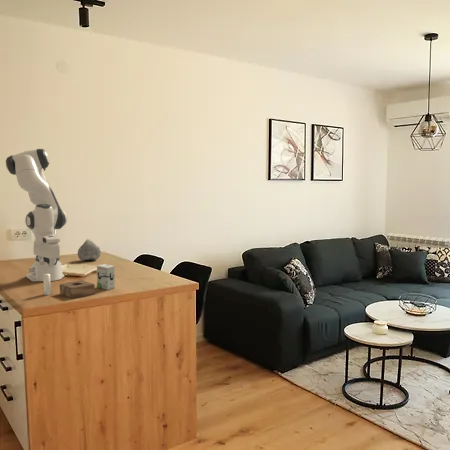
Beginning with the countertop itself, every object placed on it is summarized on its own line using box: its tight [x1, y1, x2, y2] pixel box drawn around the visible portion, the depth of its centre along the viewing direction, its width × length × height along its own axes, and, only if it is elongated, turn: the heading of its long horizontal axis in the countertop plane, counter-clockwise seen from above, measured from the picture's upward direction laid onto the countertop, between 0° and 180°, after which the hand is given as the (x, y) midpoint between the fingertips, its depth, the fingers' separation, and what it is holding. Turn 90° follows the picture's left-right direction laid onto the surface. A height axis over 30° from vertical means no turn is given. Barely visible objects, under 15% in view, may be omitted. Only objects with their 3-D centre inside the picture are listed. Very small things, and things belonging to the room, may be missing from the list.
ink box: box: [96, 263, 116, 291], centre depth 240 cm, size 9×5×12 cm, turn 56°
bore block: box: [59, 279, 96, 299], centre depth 228 cm, size 12×12×5 cm
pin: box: [42, 274, 52, 296], centre depth 225 cm, size 3×3×10 cm
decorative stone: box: [77, 238, 102, 262], centre depth 312 cm, size 15×10×15 cm
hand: (46, 266), depth 224 cm, fingers open, 8 cm apart
